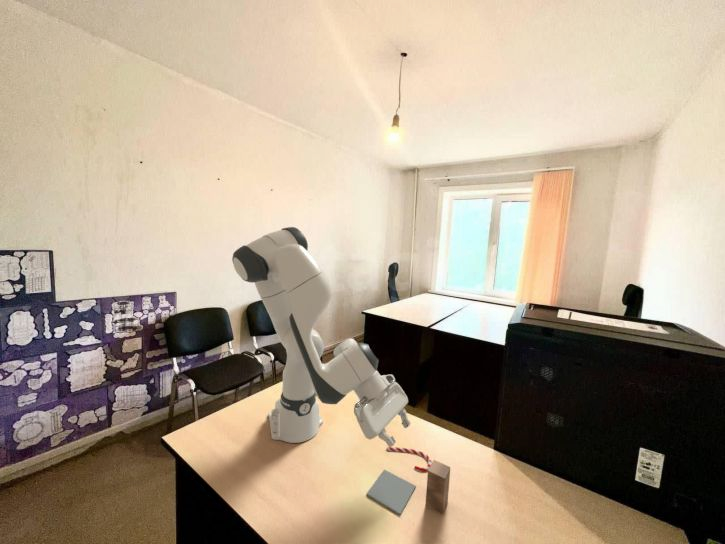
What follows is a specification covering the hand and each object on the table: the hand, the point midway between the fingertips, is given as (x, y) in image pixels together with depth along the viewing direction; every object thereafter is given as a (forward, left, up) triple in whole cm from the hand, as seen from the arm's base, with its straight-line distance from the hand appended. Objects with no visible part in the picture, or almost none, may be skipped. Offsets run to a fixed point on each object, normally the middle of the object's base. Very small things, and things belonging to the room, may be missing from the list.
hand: (400, 435), depth 79 cm
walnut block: (+10, +5, -15) cm, 19 cm away
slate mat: (+1, -3, -15) cm, 15 cm away
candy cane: (-6, +9, -16) cm, 19 cm away
